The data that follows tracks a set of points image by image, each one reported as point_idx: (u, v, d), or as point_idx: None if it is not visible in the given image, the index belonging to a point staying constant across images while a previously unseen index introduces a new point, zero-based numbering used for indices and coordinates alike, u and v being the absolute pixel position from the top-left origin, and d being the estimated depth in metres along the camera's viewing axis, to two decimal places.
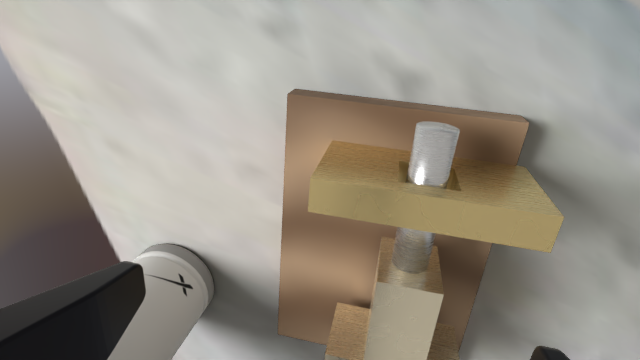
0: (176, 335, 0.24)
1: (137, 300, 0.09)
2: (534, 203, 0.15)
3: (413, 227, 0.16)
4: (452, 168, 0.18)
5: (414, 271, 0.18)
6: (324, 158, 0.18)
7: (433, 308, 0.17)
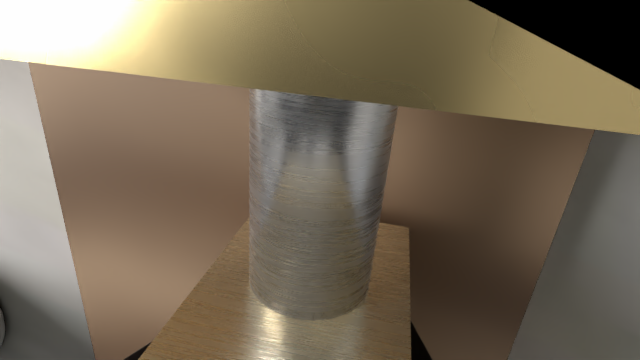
0: None
1: None
2: None
3: (200, 68, 0.02)
4: None
5: (310, 312, 0.05)
6: None
7: None
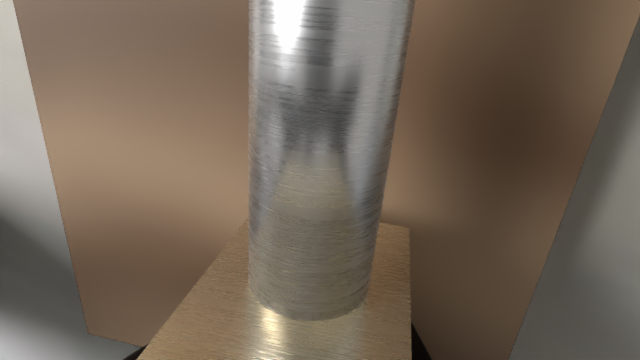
0: None
1: None
2: None
3: None
4: None
5: (309, 312, 0.05)
6: None
7: None
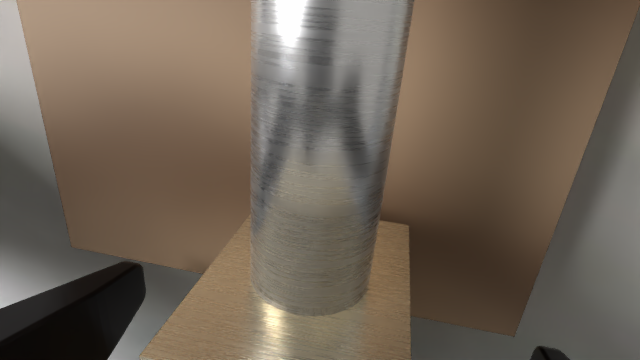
0: None
1: (137, 300, 0.09)
2: None
3: None
4: None
5: (310, 307, 0.05)
6: None
7: None
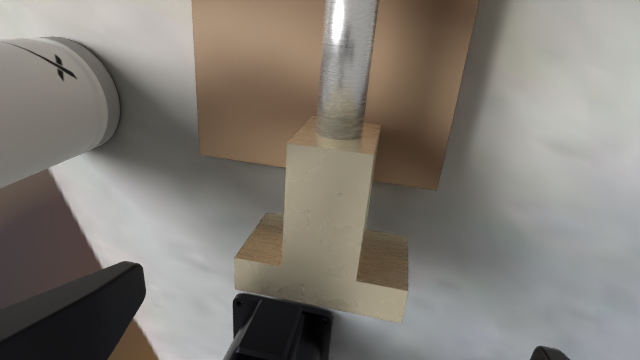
0: (36, 117, 0.16)
1: (137, 300, 0.09)
2: None
3: None
4: None
5: (340, 136, 0.14)
6: None
7: (362, 178, 0.13)
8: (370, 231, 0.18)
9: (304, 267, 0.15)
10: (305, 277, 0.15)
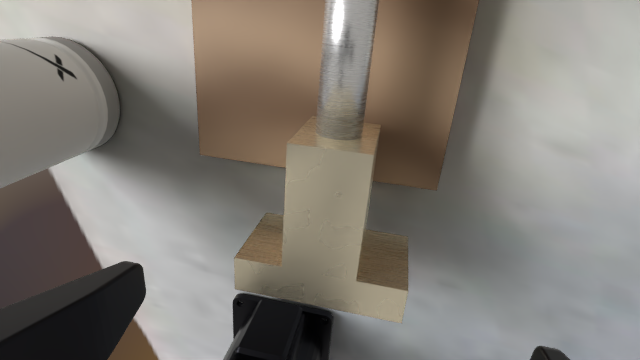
0: (36, 118, 0.16)
1: (137, 300, 0.09)
2: None
3: None
4: None
5: (340, 136, 0.14)
6: None
7: (362, 178, 0.13)
8: (370, 231, 0.18)
9: (304, 267, 0.15)
10: (305, 277, 0.15)
